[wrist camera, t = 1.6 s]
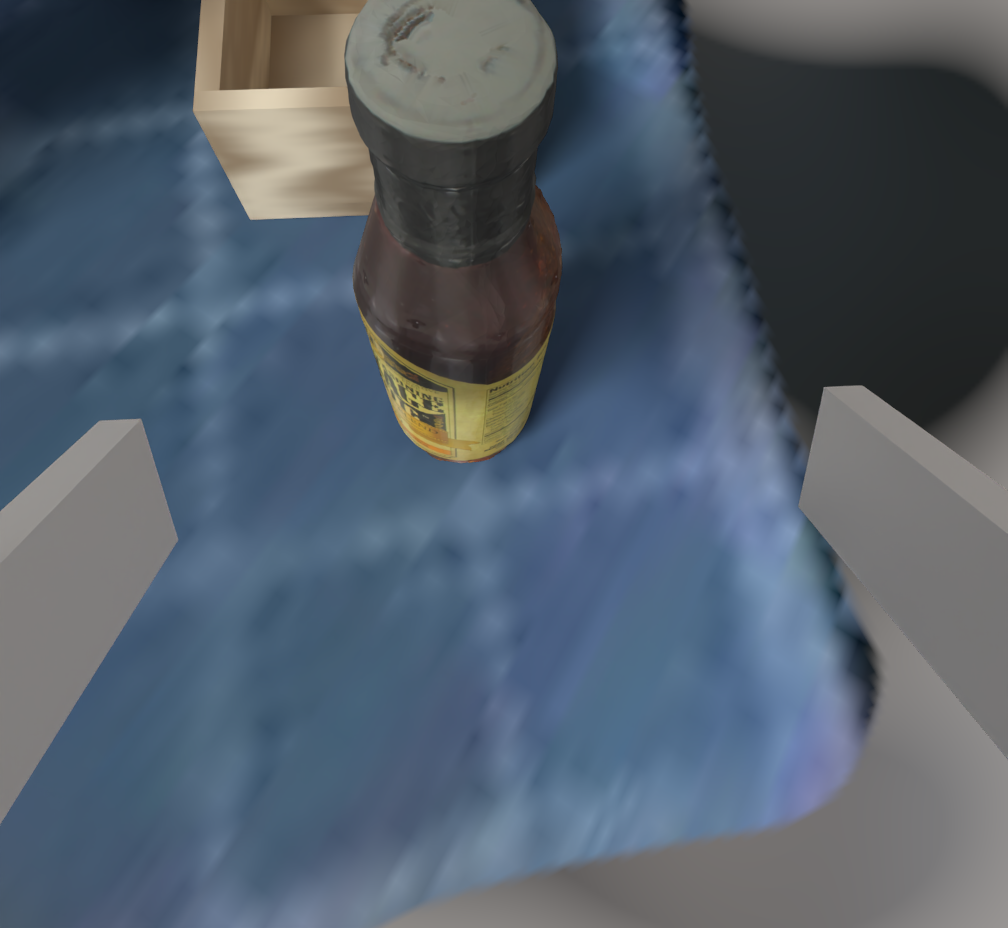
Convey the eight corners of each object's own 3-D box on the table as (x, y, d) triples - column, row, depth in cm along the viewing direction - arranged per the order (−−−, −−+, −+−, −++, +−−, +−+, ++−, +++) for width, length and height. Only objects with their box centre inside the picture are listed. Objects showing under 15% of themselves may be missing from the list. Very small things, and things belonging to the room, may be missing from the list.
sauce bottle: (376, 375, 32) (217, -49, 13) (498, 327, 33) (516, -136, 14) (430, 499, 30) (338, 223, 11) (556, 446, 31) (667, 106, 12)
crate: (250, 219, 34) (193, 111, 28) (259, 18, 38) (210, -121, 31) (508, 209, 35) (514, 100, 28) (492, 12, 38) (494, -126, 32)
